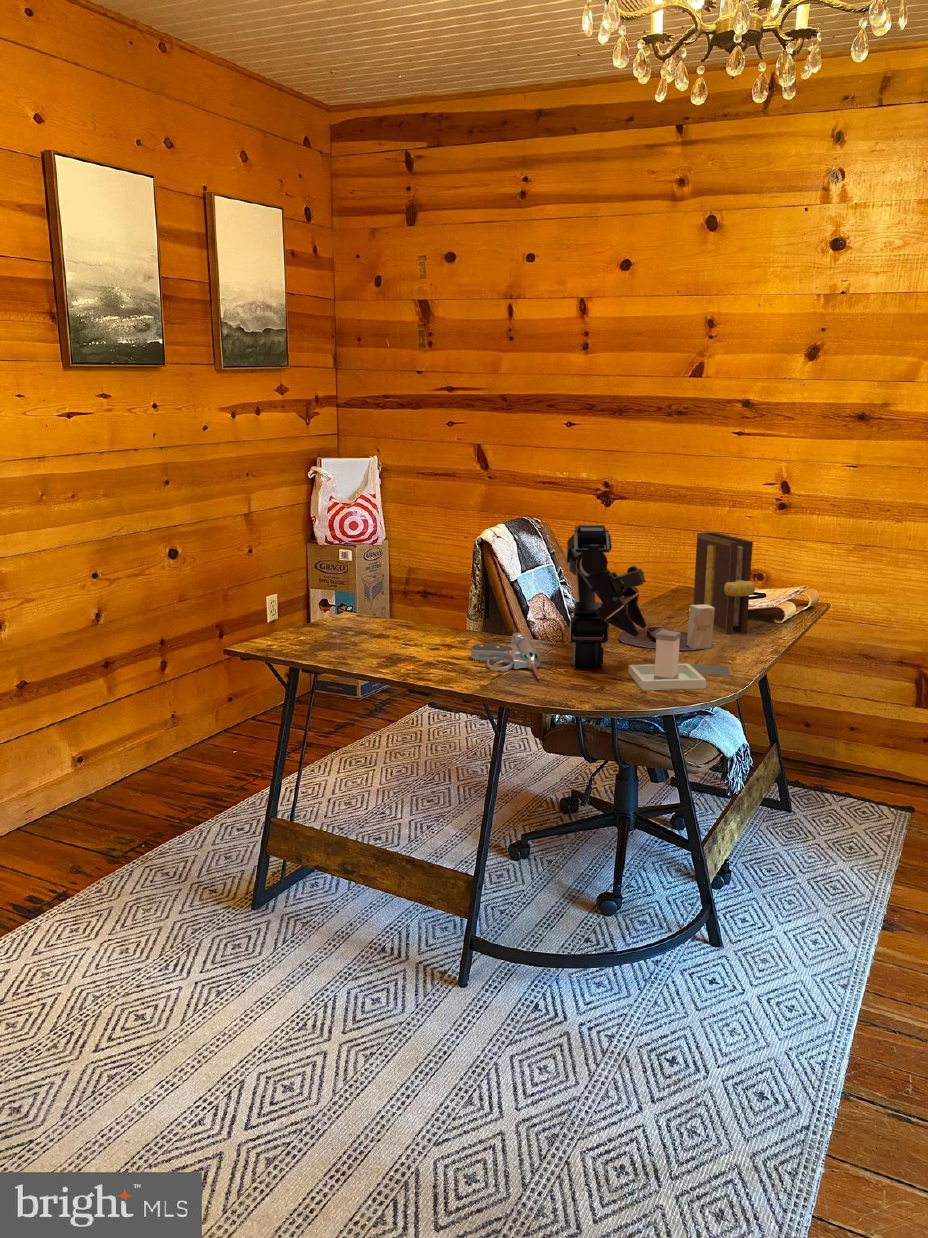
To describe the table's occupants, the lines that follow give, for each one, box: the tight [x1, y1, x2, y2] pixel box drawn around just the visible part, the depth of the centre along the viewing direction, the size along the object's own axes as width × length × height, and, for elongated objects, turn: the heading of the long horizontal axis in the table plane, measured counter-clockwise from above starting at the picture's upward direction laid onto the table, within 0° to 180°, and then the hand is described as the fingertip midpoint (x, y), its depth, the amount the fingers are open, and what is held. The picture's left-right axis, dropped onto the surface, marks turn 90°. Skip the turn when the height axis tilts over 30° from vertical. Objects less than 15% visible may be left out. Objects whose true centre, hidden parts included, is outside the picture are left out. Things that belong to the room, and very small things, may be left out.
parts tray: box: [627, 663, 707, 691], centre depth 216 cm, size 14×13×2 cm
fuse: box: [654, 629, 682, 680], centre depth 214 cm, size 4×4×11 cm
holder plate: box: [688, 663, 731, 677], centre depth 224 cm, size 10×8×1 cm
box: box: [686, 604, 715, 650], centre depth 244 cm, size 5×4×11 cm
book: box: [692, 532, 756, 636], centre depth 265 cm, size 22×8×25 cm, turn 17°
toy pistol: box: [470, 632, 541, 680], centre depth 230 cm, size 6×28×16 cm
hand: (641, 631), depth 218 cm, fingers open, 9 cm apart
